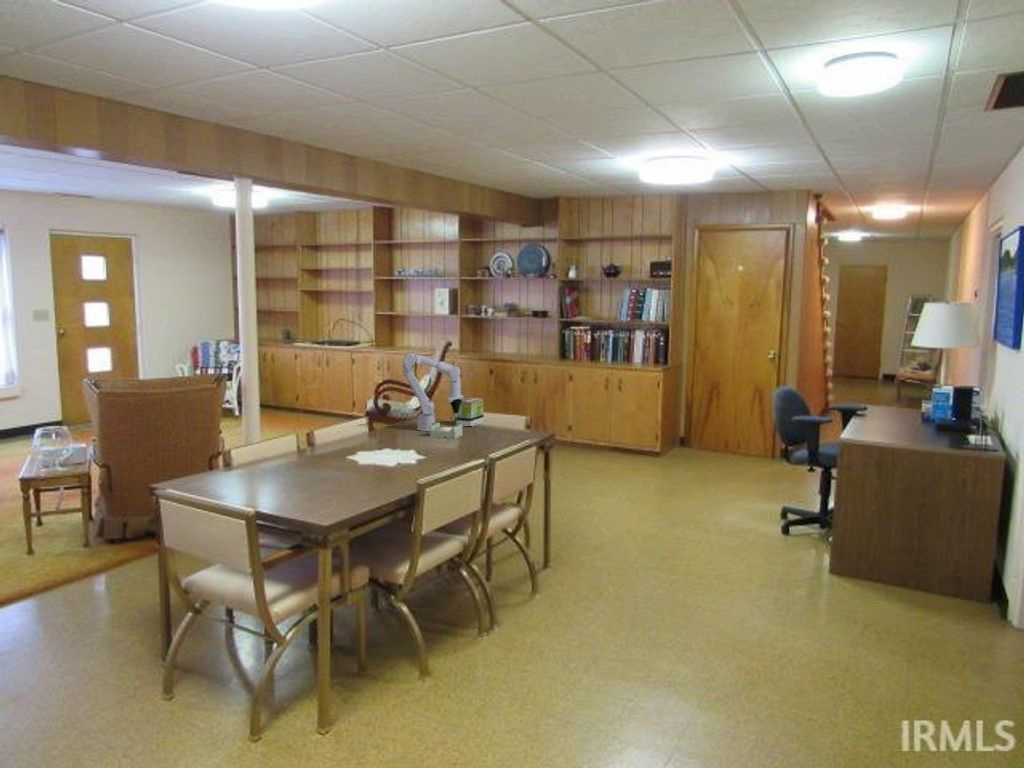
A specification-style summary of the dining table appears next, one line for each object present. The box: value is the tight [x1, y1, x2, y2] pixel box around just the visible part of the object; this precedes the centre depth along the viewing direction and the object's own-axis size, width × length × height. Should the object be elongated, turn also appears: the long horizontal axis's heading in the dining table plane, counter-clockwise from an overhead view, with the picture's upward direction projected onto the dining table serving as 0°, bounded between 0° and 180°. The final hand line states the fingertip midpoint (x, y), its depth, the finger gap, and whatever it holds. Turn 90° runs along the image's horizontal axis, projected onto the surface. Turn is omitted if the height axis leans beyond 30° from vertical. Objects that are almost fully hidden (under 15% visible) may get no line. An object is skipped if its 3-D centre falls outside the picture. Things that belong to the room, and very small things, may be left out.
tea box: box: [456, 397, 485, 427], centre depth 416 cm, size 15×10×15 cm, turn 154°
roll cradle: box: [429, 422, 463, 439], centre depth 385 cm, size 15×9×7 cm, turn 66°
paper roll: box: [436, 426, 453, 432], centre depth 385 cm, size 10×5×5 cm
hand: (455, 413), depth 400 cm, fingers closed
